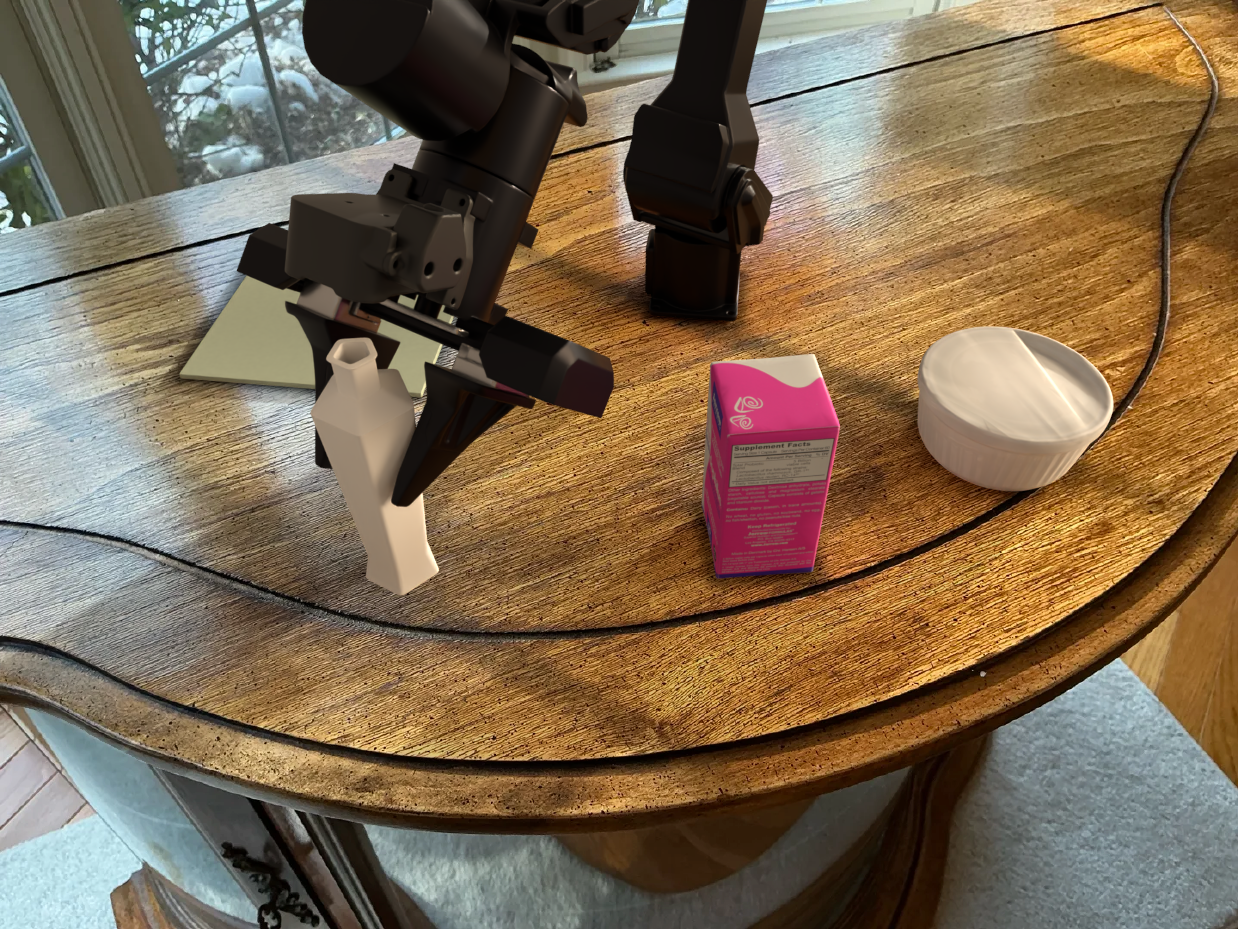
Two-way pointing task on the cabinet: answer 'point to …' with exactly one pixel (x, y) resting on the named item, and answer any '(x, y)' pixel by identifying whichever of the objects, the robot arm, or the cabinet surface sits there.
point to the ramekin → (1009, 406)
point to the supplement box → (767, 464)
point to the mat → (288, 343)
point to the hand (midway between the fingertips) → (360, 486)
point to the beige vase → (374, 462)
